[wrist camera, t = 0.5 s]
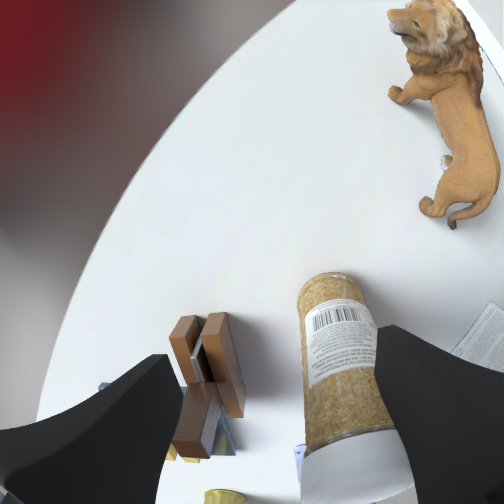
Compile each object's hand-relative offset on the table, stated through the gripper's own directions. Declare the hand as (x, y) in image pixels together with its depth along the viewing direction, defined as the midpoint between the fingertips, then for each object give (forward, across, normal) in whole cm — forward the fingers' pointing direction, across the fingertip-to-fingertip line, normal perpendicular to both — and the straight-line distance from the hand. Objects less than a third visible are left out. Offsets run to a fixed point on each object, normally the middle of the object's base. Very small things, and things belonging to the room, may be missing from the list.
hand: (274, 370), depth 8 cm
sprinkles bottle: (+10, -4, +2) cm, 11 cm away
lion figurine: (+10, -12, -9) cm, 18 cm away
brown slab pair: (+10, +5, +6) cm, 13 cm away
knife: (+10, +5, +6) cm, 13 cm away
